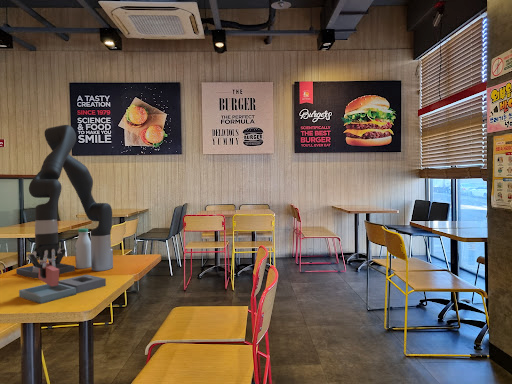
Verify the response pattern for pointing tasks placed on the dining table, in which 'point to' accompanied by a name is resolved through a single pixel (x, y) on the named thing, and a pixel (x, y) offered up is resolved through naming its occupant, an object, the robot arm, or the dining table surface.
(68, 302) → the dining table surface
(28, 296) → the tray
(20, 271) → the frame
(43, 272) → the robot arm
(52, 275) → the pink block
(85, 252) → the milk bottle
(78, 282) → the grey square-hole plate
